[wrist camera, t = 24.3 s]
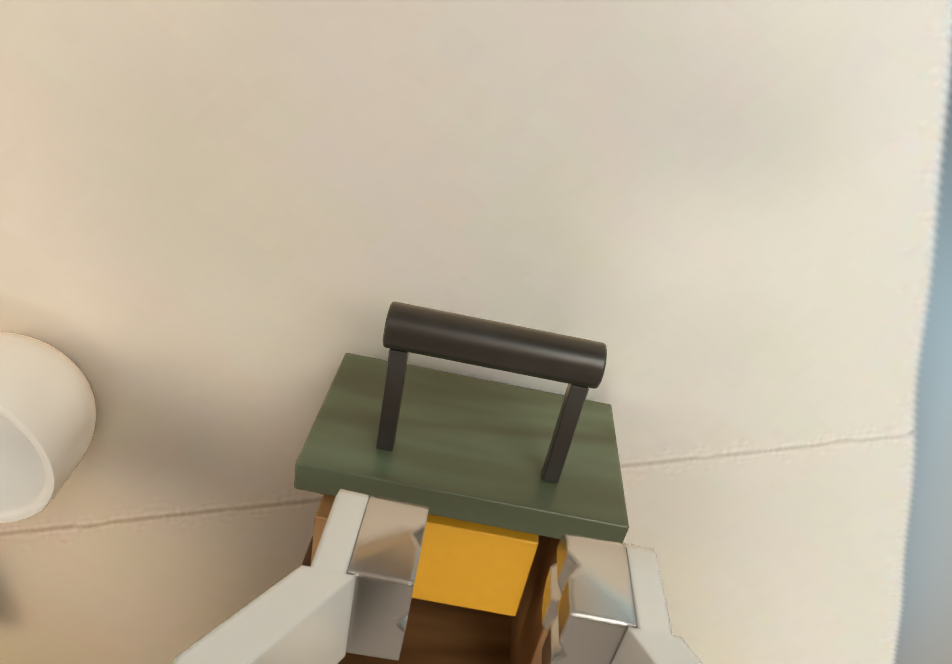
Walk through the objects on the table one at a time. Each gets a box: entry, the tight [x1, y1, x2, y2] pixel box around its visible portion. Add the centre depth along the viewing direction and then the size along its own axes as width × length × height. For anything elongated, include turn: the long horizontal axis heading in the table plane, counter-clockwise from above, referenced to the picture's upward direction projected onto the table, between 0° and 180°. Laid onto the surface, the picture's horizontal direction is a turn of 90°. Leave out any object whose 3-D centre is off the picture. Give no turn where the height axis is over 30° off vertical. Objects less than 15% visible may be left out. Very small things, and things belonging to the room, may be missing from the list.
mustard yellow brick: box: [412, 514, 539, 616], centre depth 29 cm, size 6×4×5 cm
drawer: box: [294, 302, 629, 664], centre depth 29 cm, size 20×12×7 cm, turn 170°
